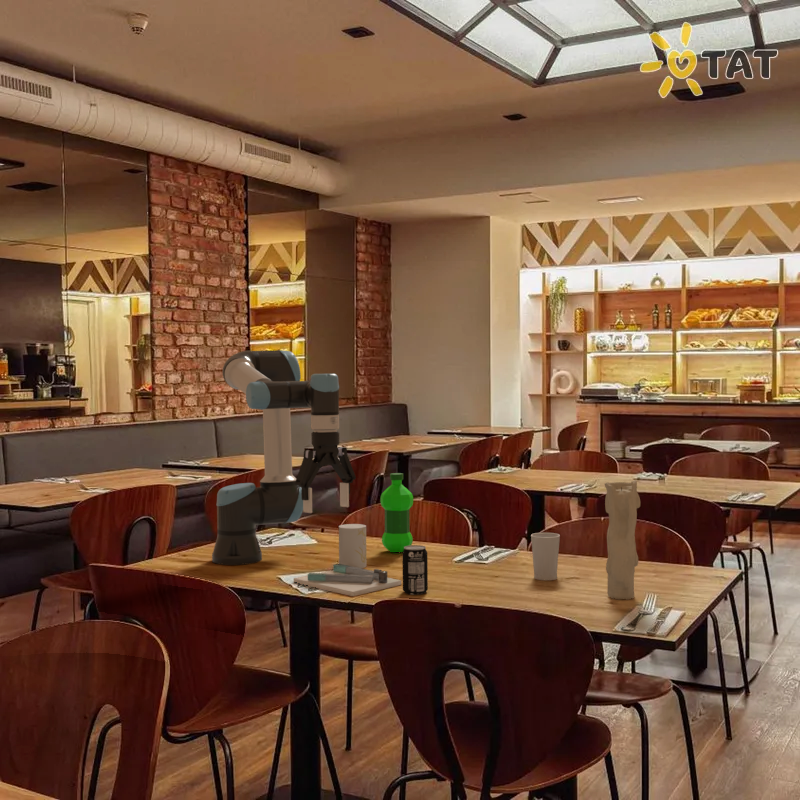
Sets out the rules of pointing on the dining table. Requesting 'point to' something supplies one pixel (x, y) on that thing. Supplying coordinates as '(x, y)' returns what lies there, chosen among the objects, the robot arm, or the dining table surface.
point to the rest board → (347, 585)
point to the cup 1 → (352, 545)
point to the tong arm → (340, 577)
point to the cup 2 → (545, 555)
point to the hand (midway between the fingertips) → (326, 509)
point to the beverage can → (415, 570)
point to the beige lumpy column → (621, 538)
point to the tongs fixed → (362, 572)
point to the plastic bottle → (396, 515)
